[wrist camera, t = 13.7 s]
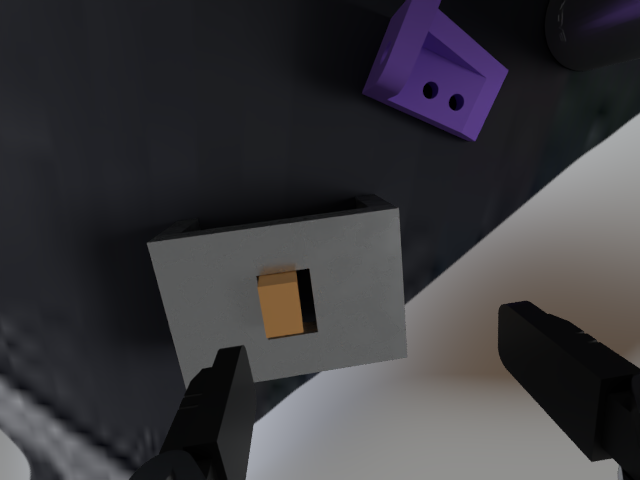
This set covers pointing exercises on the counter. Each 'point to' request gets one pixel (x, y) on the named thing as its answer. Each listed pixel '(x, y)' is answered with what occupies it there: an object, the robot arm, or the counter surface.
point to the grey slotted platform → (281, 256)
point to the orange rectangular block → (280, 303)
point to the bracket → (434, 70)
